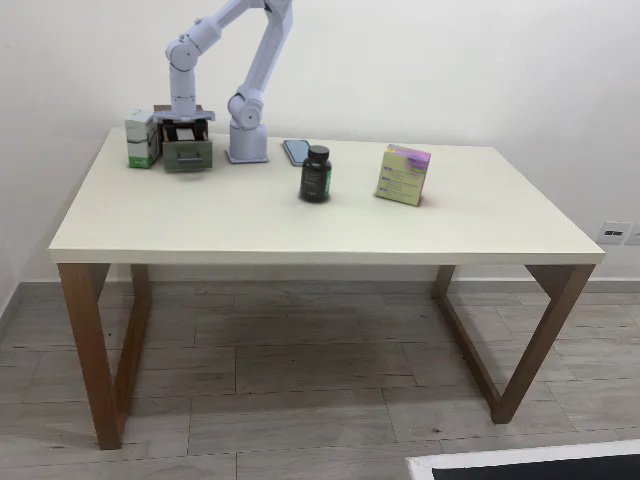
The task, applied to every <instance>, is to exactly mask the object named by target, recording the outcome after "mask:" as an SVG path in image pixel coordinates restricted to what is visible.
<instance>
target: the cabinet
mask: <svg viewBox="0 0 640 480" xmlns="http://www.w3.org/2000/svg"><path fill="white" fill-rule="evenodd" d="M166 110H172V109H171V104H153V111H154V112H158V111H166ZM196 110H204V108H203V106H202V104H196ZM173 123H174V126H179V125H195V124H194V121H173ZM206 123H207V126H206V129H205V130H204V131H205V133H206V136H207V139H208V140H209V120H206ZM162 126H163V122H162V121H158V122H156V130H157V143H158V156H163V145H162V142H163V132H162Z"/></svg>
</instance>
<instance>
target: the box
mask: <svg viewBox="0 0 640 480" xmlns="http://www.w3.org/2000/svg"><path fill="white" fill-rule="evenodd" d="M431 156H432V153H431V152H428V151H427V152H426V151H423V150H418V149H414V148H409V147H405V146H400V145H396V144H393V143H389V144H388V145H387V146H386V149H384V152H383V156H382V161H381V166H380V172H379V176H378V182H377V187H376V193H375V196H377V197H381V198H385V199H388V200H393V201H397V202H401V203H404V204H407V205H412V206H415V207H417V206H418V205H419V203H420V200H421V197H422V193H423V189H424V186H425V181H426V177H427V173H428V169H429V165H430V161H431Z"/></svg>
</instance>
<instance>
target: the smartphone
mask: <svg viewBox="0 0 640 480" xmlns="http://www.w3.org/2000/svg"><path fill="white" fill-rule="evenodd" d="M282 144H283V146H284V149H285V151H286V152H287V154H288V157H289V158H290V160H291V162H292V165H294V166H297V167H298V166H299V167H300V166H301V167H302V163H303V161H304V159H305V158H307V157H308V156H307V153H308V148H309V147H310V146H311V144H310V142H309V141H308V140H307V139H284V140H283V141H282Z"/></svg>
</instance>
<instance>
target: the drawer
mask: <svg viewBox="0 0 640 480" xmlns="http://www.w3.org/2000/svg"><path fill="white" fill-rule="evenodd" d="M176 129H192V132H193V135H194V139H195V125H179V126H174V131H175V142H171V140H170V137H169V135H168V133H167V132H166V130H165V128H164V126H162V132H163V142H162V145H163V155H162V156H163V157H162V158H163V169H164V171H182V170H199V169H200V170H201V169H213V168H214V166H213V161H214V160H213V142H212V140H209V138H208V139H207V136H206V133H205V131H204V132H203V135H202V137H201V140H200V141H179V142H176Z"/></svg>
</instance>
